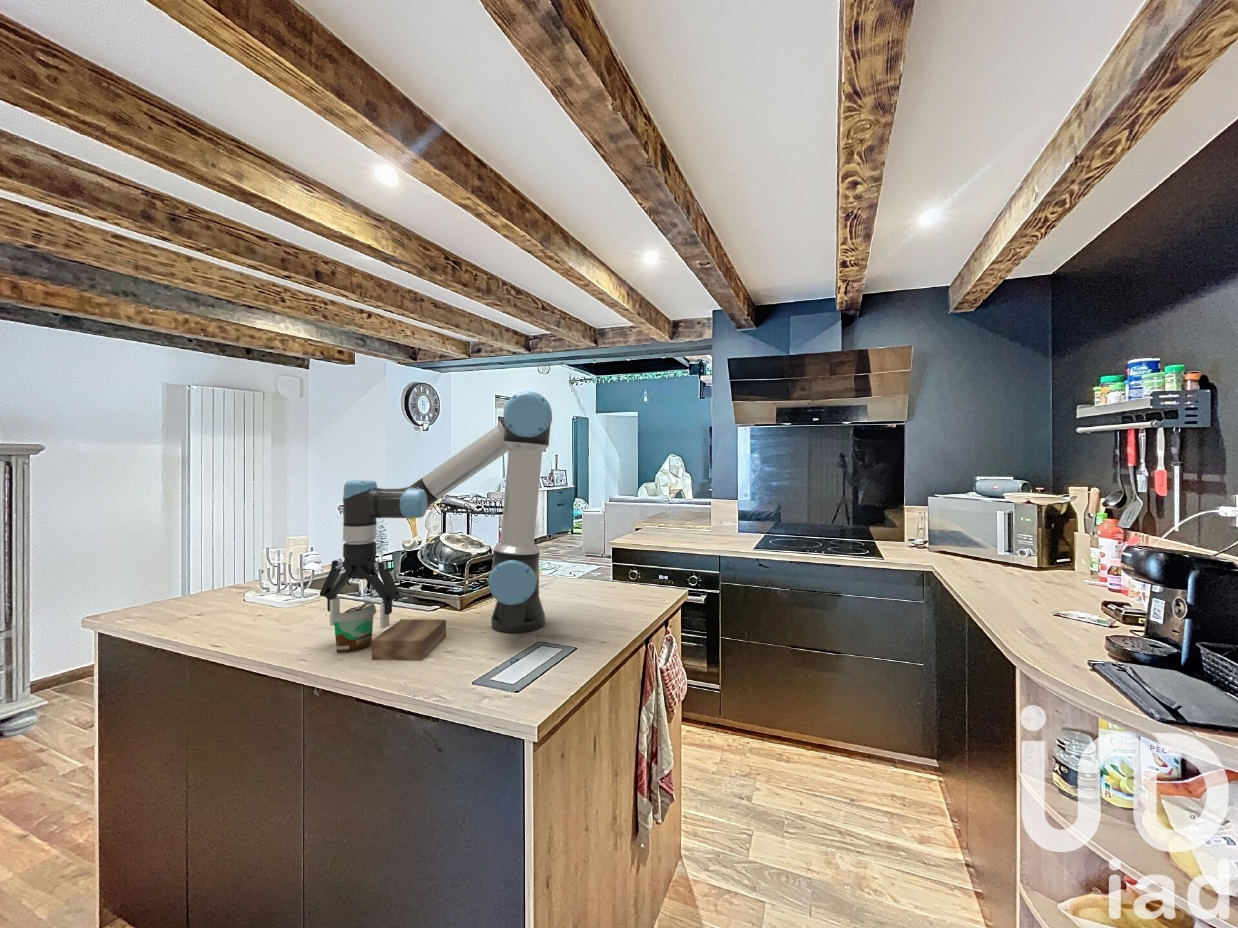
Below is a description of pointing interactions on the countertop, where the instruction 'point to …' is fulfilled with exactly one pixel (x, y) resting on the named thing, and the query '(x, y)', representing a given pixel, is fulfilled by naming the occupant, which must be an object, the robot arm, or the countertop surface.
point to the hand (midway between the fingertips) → (359, 625)
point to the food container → (354, 628)
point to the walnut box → (409, 639)
